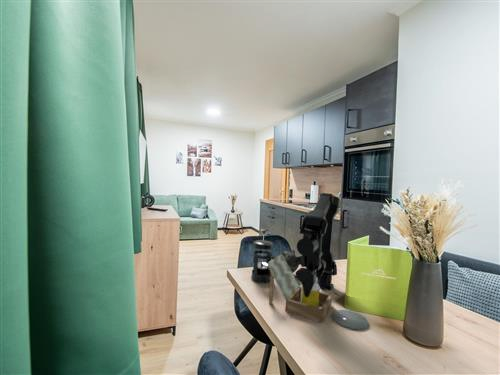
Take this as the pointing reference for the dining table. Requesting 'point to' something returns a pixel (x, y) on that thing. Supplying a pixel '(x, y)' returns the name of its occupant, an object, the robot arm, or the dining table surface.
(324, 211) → the robot arm
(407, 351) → the dining table surface
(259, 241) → the french press
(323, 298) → the cold frame
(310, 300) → the pill bottle
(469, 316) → the dining table surface
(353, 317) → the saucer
